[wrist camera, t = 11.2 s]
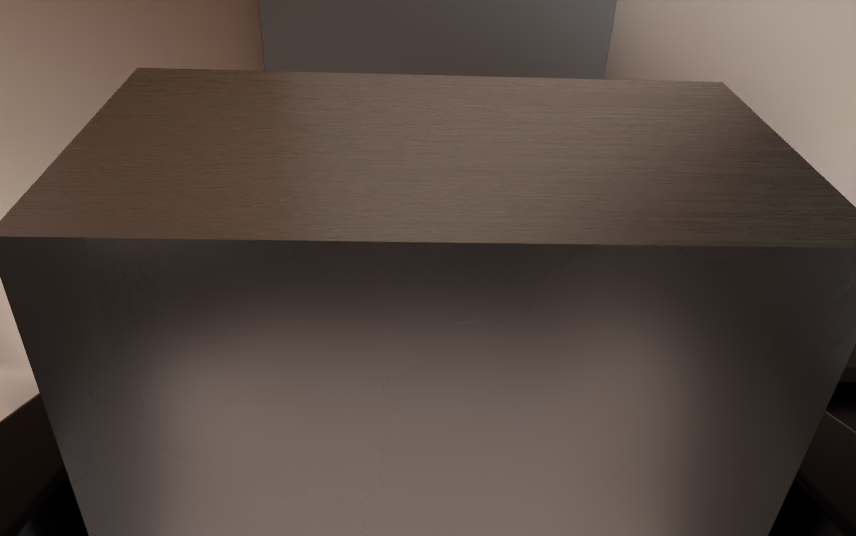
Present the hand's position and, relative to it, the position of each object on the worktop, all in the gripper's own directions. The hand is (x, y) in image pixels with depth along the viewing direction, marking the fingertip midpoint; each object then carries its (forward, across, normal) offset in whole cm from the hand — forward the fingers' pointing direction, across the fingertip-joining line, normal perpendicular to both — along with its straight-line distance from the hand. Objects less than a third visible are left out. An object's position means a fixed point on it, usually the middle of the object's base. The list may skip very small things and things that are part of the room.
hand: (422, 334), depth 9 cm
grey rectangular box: (0, 0, 0) cm, 0 cm away
